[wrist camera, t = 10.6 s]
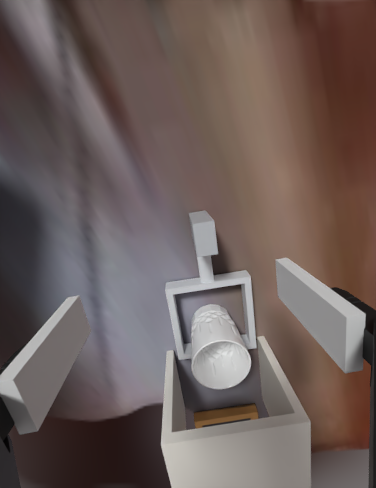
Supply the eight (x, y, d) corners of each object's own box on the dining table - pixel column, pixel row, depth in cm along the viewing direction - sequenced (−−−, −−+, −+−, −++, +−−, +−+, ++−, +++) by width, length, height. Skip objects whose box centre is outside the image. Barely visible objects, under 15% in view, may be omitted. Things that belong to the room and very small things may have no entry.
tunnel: (166, 351, 42) (161, 444, 27) (263, 336, 42) (310, 421, 27) (179, 410, 45) (180, 521, 31) (268, 396, 45) (311, 500, 31)
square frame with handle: (153, 218, 35) (146, 231, 26) (240, 205, 35) (260, 213, 27) (178, 349, 41) (179, 393, 33) (251, 338, 41) (270, 378, 33)
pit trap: (193, 412, 46) (194, 421, 44) (254, 403, 46) (257, 412, 44) (199, 442, 48) (200, 452, 46) (257, 433, 48) (260, 442, 46)
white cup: (234, 338, 42) (251, 386, 32) (190, 342, 41) (194, 392, 32) (232, 298, 39) (250, 337, 30) (186, 303, 39) (188, 343, 30)
